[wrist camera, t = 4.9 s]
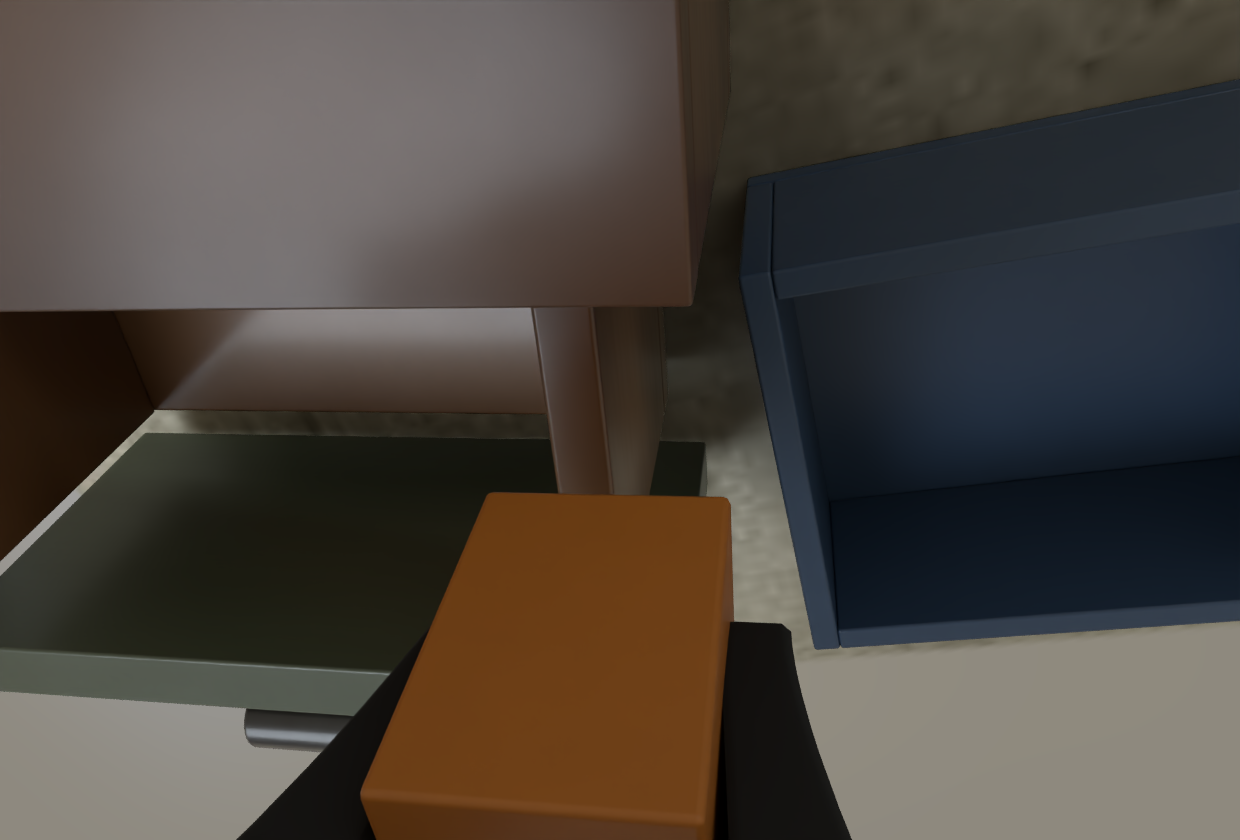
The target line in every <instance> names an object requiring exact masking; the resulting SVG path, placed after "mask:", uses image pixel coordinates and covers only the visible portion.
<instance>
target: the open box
mask: <svg viewBox="0 0 1240 840" xmlns="http://www.w3.org/2000/svg"><path fill="white" fill-rule="evenodd" d="M738 281H739V285H740V290H741V295H742V300H743V305H744V310H745V314H746V319H747V324H748V329H749V334H750V339H751V344H752V348H753V353H754V358H755V363H756V368H757V373H758V378H759V382H760V387H761V392H762V397H763V402H764V407H765V411H766V416H767V421H768V426H769V431H770V436H771V441H772V445H773V450H774V455H775V460H776V465H777V470H778V474H779V479H780V484H781V489H782V494H783V499H784V504H785V508H786V513H787V518H788V523H789V528H790V533H791V538H792V542H793V547H794V552H795V557H796V562H797V567H798V571H799V576H800V581H801V586H802V591H803V596H804V601H805V605H806V610H807V615H808V620H809V625H810V630H811V635H812V639H813V644H814V647H815V649H817V650H821V649H835V648H839V647H840V645H841V647H842V648H850V647H864V646H879V645H894V644H908V643H923V642H938V641H952V640H967V639H981V638H996V637H1011V636H1025V635H1040V634H1055V633H1069V632H1084V631H1099V630H1113V629H1128V628H1142V627H1157V626H1172V625H1186V624H1201V623H1216V622H1230V621H1240V79H1238V80H1233V81H1229V82H1224V83H1219V84H1214V85H1209V86H1204V87H1199V88H1194V89H1189V90H1184V91H1179V92H1174V93H1169V94H1164V95H1159V96H1154V97H1149V98H1144V99H1139V100H1134V101H1129V102H1124V103H1119V104H1114V105H1109V106H1104V107H1099V108H1094V109H1089V110H1085V111H1080V112H1075V113H1070V114H1065V115H1060V116H1055V117H1050V118H1045V119H1040V120H1035V121H1030V122H1025V123H1020V124H1015V125H1010V126H1005V127H1000V128H995V129H990V130H985V131H980V132H975V133H970V134H965V135H960V136H955V137H950V138H945V139H940V140H936V141H931V142H926V143H921V144H916V145H911V146H906V147H901V148H896V149H891V150H886V151H881V152H876V153H871V154H866V155H861V156H856V157H851V158H846V159H841V160H836V161H831V162H826V163H821V164H816V165H811V166H806V167H801V168H796V169H792V170H787V171H782V172H777V173H772V174H767V175H762V176H757V177H752V178H749V179H748V182H747V193H746V204H745V214H744V225H743V235H742V246H741V257H740V267H739V278H738Z"/></svg>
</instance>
